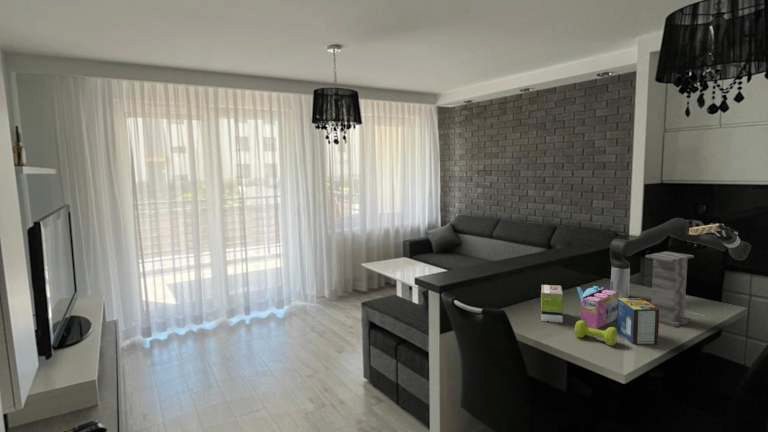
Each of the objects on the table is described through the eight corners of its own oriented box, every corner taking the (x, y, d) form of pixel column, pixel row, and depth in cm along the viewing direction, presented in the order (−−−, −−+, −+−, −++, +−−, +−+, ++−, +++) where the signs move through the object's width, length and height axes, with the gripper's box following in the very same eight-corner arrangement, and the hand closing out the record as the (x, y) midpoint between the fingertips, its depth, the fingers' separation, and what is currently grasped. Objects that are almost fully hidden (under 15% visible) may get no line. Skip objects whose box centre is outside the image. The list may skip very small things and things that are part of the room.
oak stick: (695, 234, 208) (695, 228, 208) (688, 234, 211) (689, 228, 211) (723, 229, 221) (724, 224, 221) (717, 229, 224) (717, 223, 223)
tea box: (540, 311, 222) (541, 283, 220) (561, 313, 219) (562, 285, 217) (540, 321, 208) (541, 292, 206) (563, 323, 205) (563, 293, 203)
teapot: (575, 301, 237) (575, 282, 236) (603, 301, 236) (603, 282, 235) (585, 310, 222) (586, 290, 221) (615, 310, 221) (616, 290, 219)
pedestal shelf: (670, 328, 195) (674, 260, 192) (640, 319, 207) (643, 255, 204) (692, 321, 203) (696, 255, 200) (661, 312, 216) (664, 250, 212)
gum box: (603, 313, 217) (604, 287, 216) (619, 317, 211) (621, 290, 209) (580, 324, 202) (581, 297, 201) (597, 329, 196) (598, 301, 195)
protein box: (640, 331, 193) (641, 297, 192) (658, 345, 178) (660, 309, 176) (616, 330, 194) (617, 297, 193) (632, 344, 179) (633, 308, 177)
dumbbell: (572, 338, 187) (573, 322, 186) (579, 333, 193) (579, 317, 192) (613, 348, 176) (613, 331, 175) (619, 342, 181) (619, 326, 180)
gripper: (715, 230, 234) (702, 217, 226) (746, 233, 222) (733, 219, 214) (711, 242, 233) (697, 229, 225) (742, 246, 220) (729, 232, 213)
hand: (715, 224), depth 219 cm, fingers closed on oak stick, 3 cm apart
